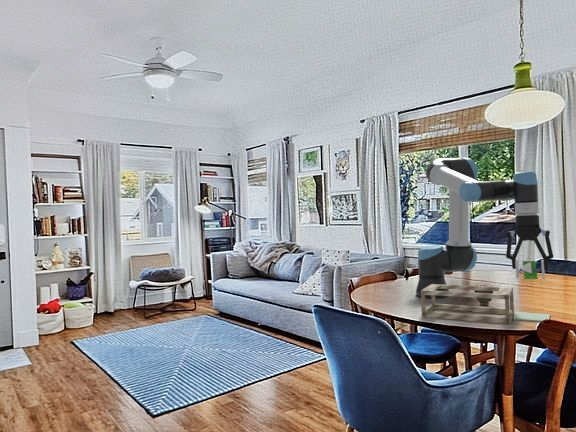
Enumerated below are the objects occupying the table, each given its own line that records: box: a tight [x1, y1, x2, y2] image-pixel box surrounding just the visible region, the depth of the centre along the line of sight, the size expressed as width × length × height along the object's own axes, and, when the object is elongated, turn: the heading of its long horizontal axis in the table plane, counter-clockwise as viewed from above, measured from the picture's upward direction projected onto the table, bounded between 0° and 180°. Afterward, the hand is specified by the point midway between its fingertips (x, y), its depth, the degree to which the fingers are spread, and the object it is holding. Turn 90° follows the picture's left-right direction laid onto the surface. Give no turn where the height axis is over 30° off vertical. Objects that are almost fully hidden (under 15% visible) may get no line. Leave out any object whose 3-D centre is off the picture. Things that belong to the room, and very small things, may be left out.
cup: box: [473, 284, 494, 307], centre depth 179 cm, size 8×7×8 cm
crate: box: [420, 284, 515, 325], centre depth 164 cm, size 30×16×10 cm, turn 58°
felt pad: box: [512, 311, 551, 323], centre depth 156 cm, size 11×11×1 cm
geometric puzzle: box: [519, 260, 542, 280], centre depth 156 cm, size 7×7×8 cm
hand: (530, 278), depth 156 cm, fingers closed on geometric puzzle, 7 cm apart
